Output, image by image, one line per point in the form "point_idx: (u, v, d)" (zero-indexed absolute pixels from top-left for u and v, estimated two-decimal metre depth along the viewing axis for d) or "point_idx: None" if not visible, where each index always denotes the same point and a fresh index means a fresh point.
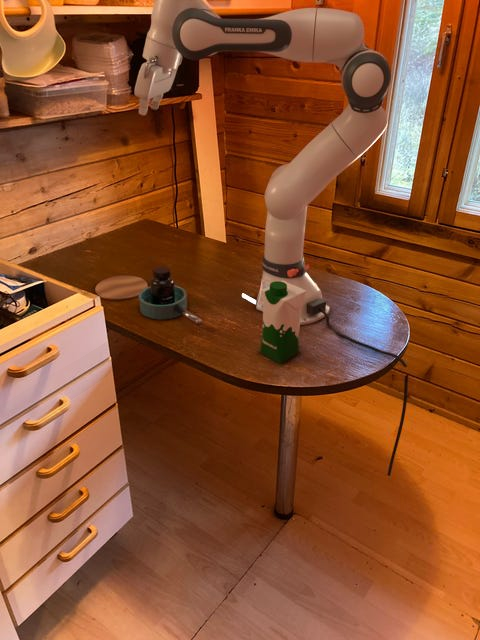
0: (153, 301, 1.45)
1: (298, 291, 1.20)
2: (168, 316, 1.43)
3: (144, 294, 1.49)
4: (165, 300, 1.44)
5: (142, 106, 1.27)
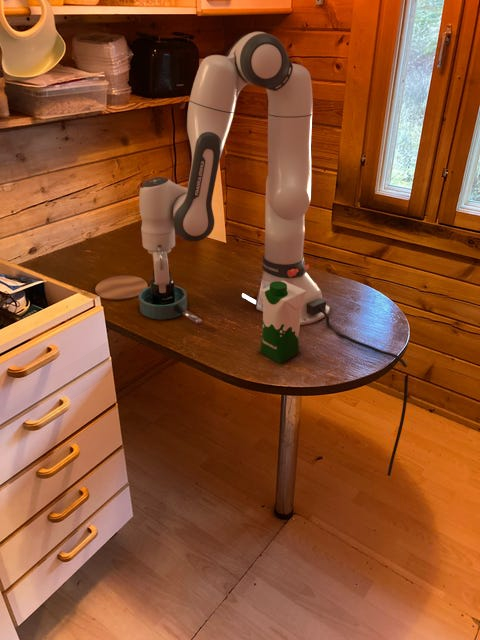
0: (153, 301, 1.45)
1: (298, 291, 1.20)
2: (168, 316, 1.43)
3: (144, 294, 1.49)
4: (165, 300, 1.44)
5: (161, 286, 1.40)
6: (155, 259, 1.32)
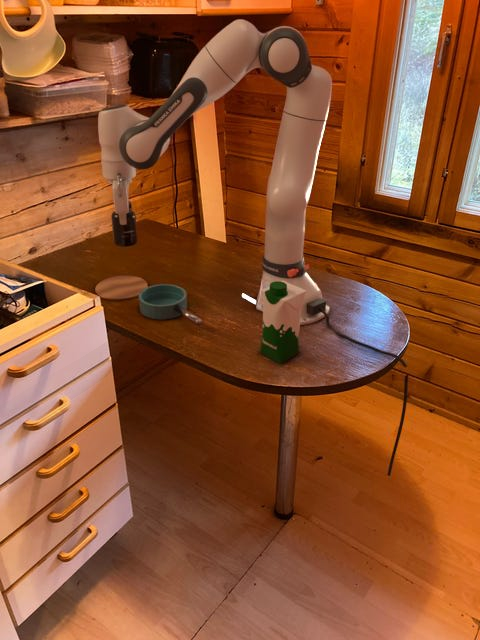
0: (115, 235, 1.44)
1: (298, 291, 1.20)
2: (168, 316, 1.43)
3: (144, 294, 1.49)
4: (127, 233, 1.43)
5: (122, 217, 1.39)
6: (114, 186, 1.31)
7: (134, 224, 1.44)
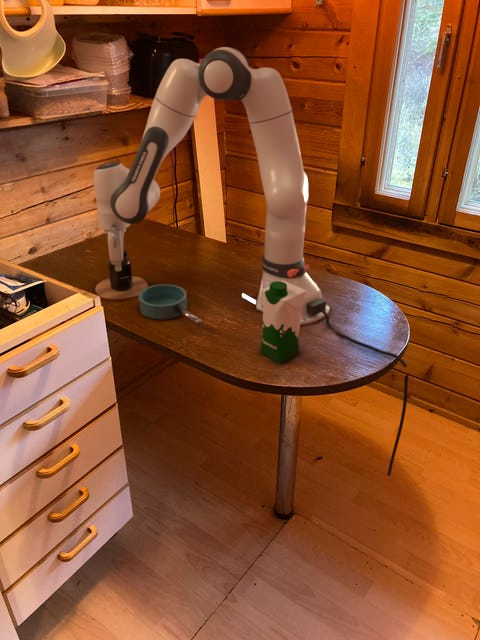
0: (111, 280, 1.55)
1: (298, 291, 1.20)
2: (168, 316, 1.43)
3: (144, 294, 1.49)
4: (122, 279, 1.54)
5: (117, 265, 1.49)
6: (109, 237, 1.42)
7: (129, 270, 1.55)
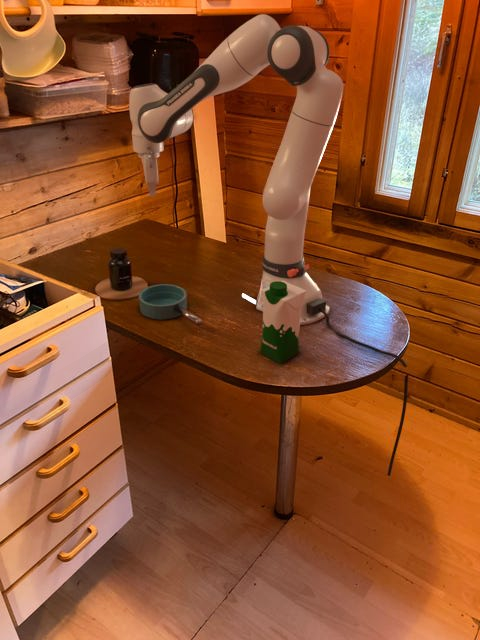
0: (111, 280, 1.55)
1: (298, 291, 1.20)
2: (168, 316, 1.43)
3: (144, 294, 1.49)
4: (122, 279, 1.54)
5: (151, 190, 1.50)
6: (145, 158, 1.43)
7: (129, 270, 1.55)
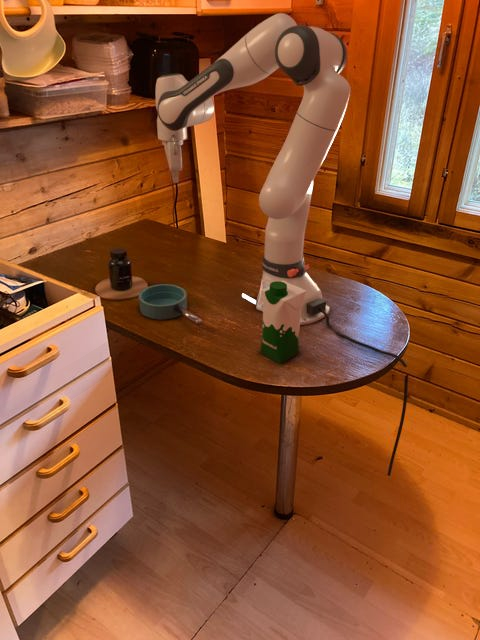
0: (111, 280, 1.55)
1: (298, 291, 1.20)
2: (168, 316, 1.43)
3: (144, 294, 1.49)
4: (122, 279, 1.54)
5: (175, 176, 1.56)
6: (170, 145, 1.49)
7: (129, 270, 1.55)
